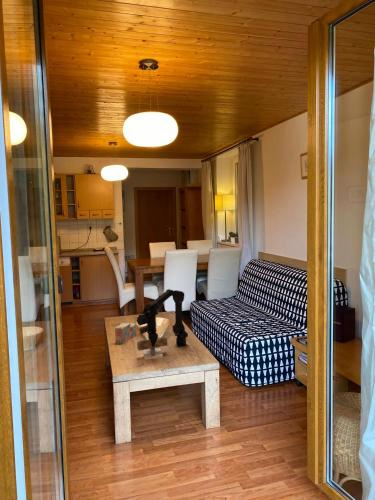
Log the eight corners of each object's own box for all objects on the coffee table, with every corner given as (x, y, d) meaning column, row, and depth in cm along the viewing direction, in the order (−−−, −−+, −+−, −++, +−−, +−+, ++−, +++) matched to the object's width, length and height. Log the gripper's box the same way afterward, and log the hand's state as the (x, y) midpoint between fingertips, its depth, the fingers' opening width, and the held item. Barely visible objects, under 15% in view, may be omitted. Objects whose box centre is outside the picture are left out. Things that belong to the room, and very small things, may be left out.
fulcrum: (160, 350, 273) (160, 342, 273) (162, 358, 260) (162, 349, 259) (143, 351, 271) (142, 344, 271) (144, 359, 258) (144, 351, 257)
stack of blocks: (129, 334, 309) (129, 319, 308) (136, 335, 307) (136, 320, 306) (115, 343, 290) (114, 327, 288) (123, 344, 287) (122, 328, 286)
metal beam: (165, 343, 271) (164, 336, 271) (167, 345, 268) (167, 338, 267) (137, 348, 262) (137, 341, 262) (139, 350, 259) (139, 343, 258)
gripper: (138, 318, 271) (139, 340, 273) (140, 327, 253) (141, 350, 254) (155, 317, 273) (155, 339, 274) (157, 325, 254) (158, 349, 256)
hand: (152, 344), depth 265 cm, fingers open, 9 cm apart
